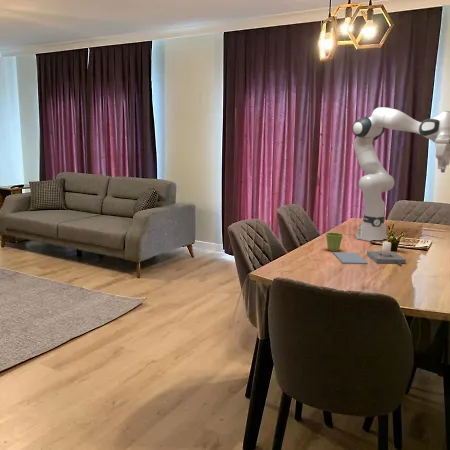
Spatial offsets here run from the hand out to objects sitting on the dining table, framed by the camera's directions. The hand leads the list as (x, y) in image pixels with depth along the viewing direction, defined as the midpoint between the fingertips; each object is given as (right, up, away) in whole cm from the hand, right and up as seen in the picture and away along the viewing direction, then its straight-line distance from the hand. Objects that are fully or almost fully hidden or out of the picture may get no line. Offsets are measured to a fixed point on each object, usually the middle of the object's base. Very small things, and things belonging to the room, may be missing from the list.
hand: (441, 170), depth 239 cm
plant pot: (-51, -41, +15) cm, 67 cm away
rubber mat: (-47, -44, -3) cm, 64 cm away
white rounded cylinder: (-29, -45, -3) cm, 53 cm away
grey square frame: (-29, -45, -5) cm, 54 cm away
